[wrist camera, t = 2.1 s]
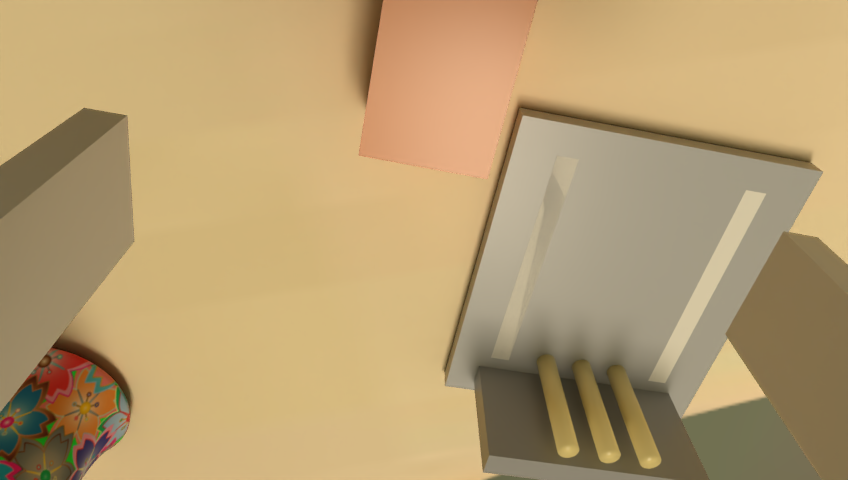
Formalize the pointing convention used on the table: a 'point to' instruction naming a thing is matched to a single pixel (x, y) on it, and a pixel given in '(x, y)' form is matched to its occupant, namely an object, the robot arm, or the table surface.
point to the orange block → (444, 81)
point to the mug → (61, 420)
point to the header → (611, 293)
